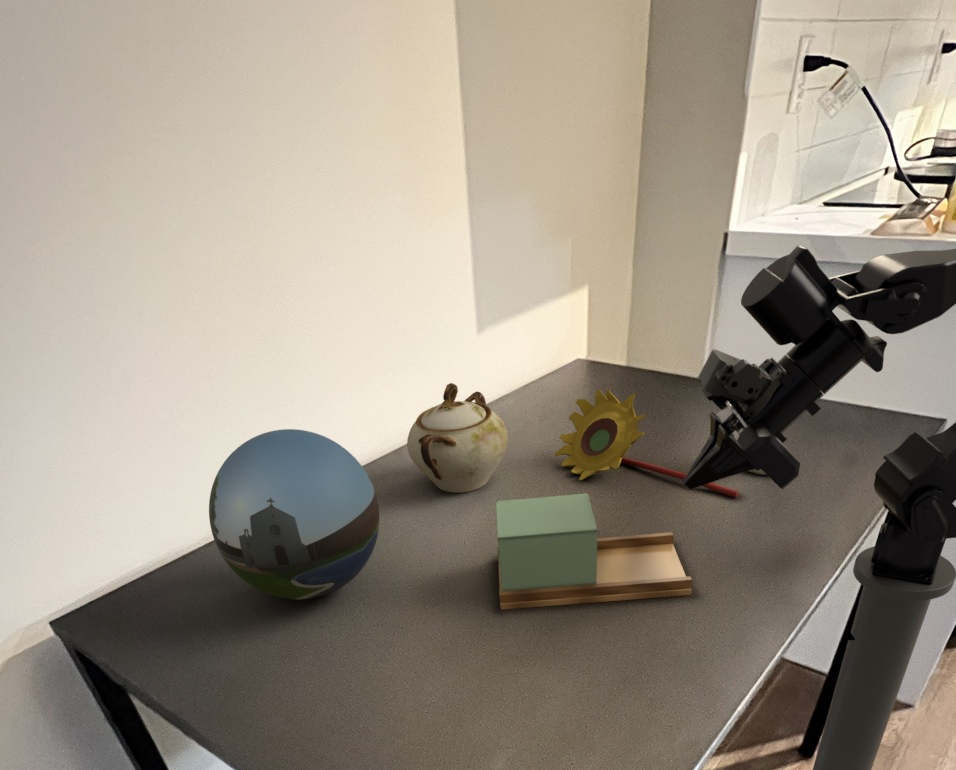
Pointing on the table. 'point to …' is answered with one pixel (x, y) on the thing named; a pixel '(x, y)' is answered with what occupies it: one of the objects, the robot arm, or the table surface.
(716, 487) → the decorative flower
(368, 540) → the decorative sphere
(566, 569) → the cover
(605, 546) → the dock
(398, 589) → the table surface
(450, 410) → the sugar bowl
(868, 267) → the robot arm
